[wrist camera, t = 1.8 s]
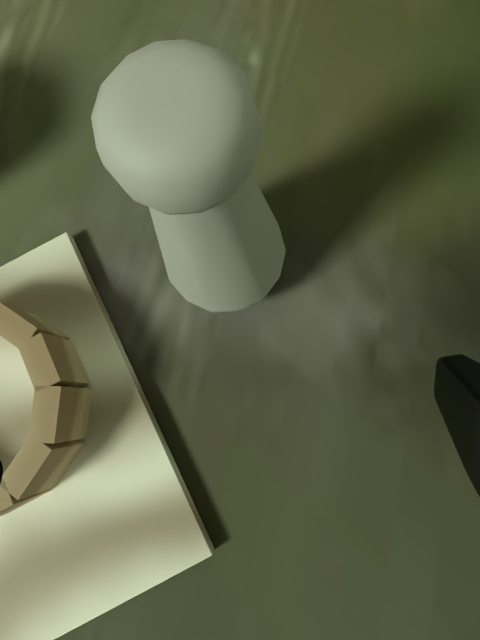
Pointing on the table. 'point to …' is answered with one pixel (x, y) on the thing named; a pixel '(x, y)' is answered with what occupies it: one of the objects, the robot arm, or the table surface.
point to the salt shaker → (193, 168)
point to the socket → (78, 458)
